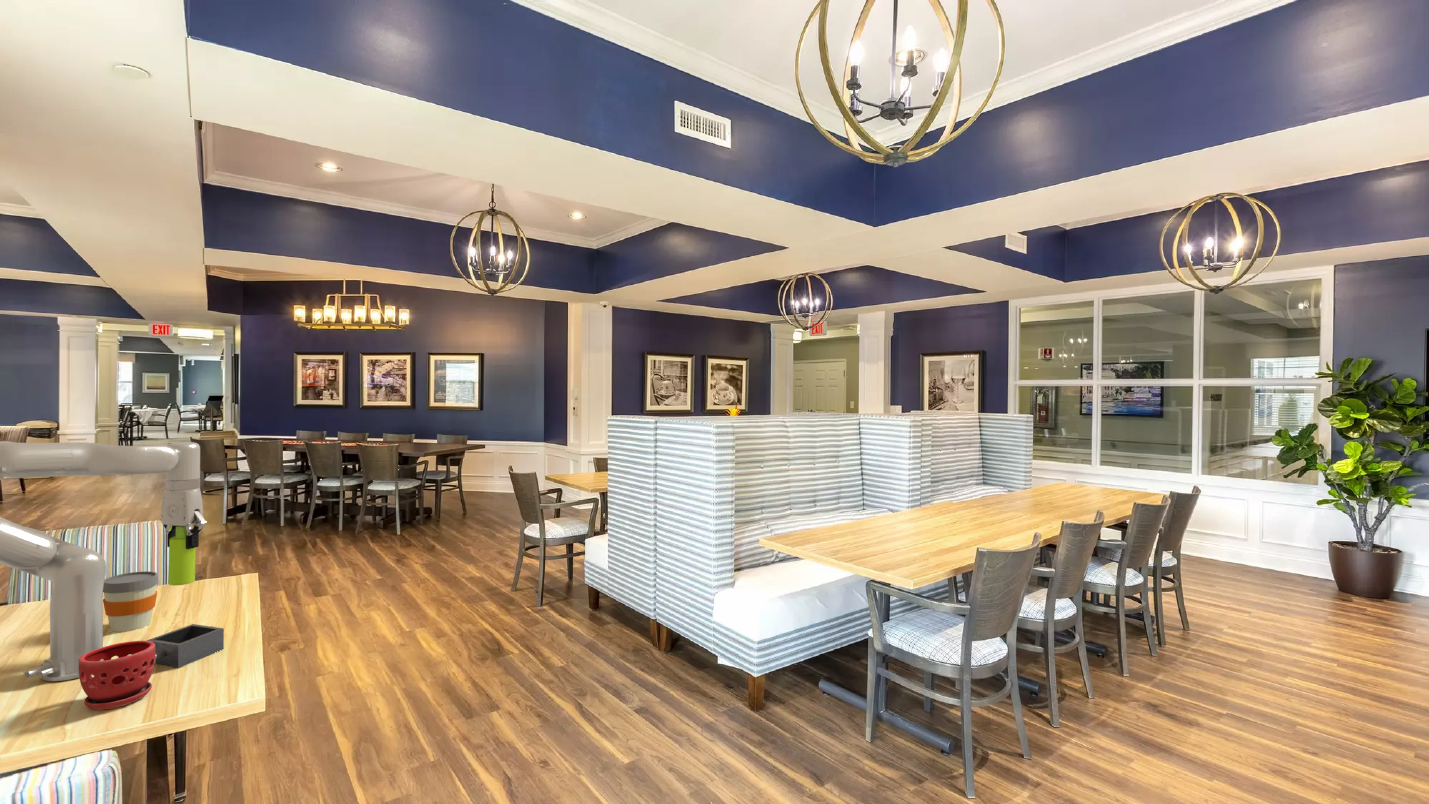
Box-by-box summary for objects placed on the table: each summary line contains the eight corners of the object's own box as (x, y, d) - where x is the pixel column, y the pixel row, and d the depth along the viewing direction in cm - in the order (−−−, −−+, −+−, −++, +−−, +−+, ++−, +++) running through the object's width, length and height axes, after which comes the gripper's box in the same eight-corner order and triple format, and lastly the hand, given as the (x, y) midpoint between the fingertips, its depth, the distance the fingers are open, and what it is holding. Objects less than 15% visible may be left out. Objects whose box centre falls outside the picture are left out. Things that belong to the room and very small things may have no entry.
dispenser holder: (159, 676, 159) (159, 652, 159) (126, 670, 162) (126, 647, 161) (223, 649, 175) (223, 628, 175) (192, 644, 178) (192, 624, 178)
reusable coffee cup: (169, 619, 195) (169, 572, 195) (127, 635, 182) (127, 585, 182) (133, 617, 196) (133, 570, 196) (89, 633, 184) (89, 582, 183)
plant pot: (169, 686, 154) (169, 638, 154) (120, 715, 141) (121, 662, 140) (115, 686, 154) (115, 638, 153) (61, 714, 140) (61, 661, 140)
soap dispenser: (186, 586, 178) (188, 517, 177) (162, 584, 178) (164, 515, 177) (203, 579, 184) (205, 512, 183) (180, 578, 184) (182, 511, 183)
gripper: (145, 485, 178) (145, 547, 179) (193, 489, 174) (193, 553, 175) (173, 481, 185) (173, 541, 186) (220, 485, 182) (219, 546, 182)
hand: (183, 546), depth 180 cm, fingers closed on soap dispenser, 6 cm apart
